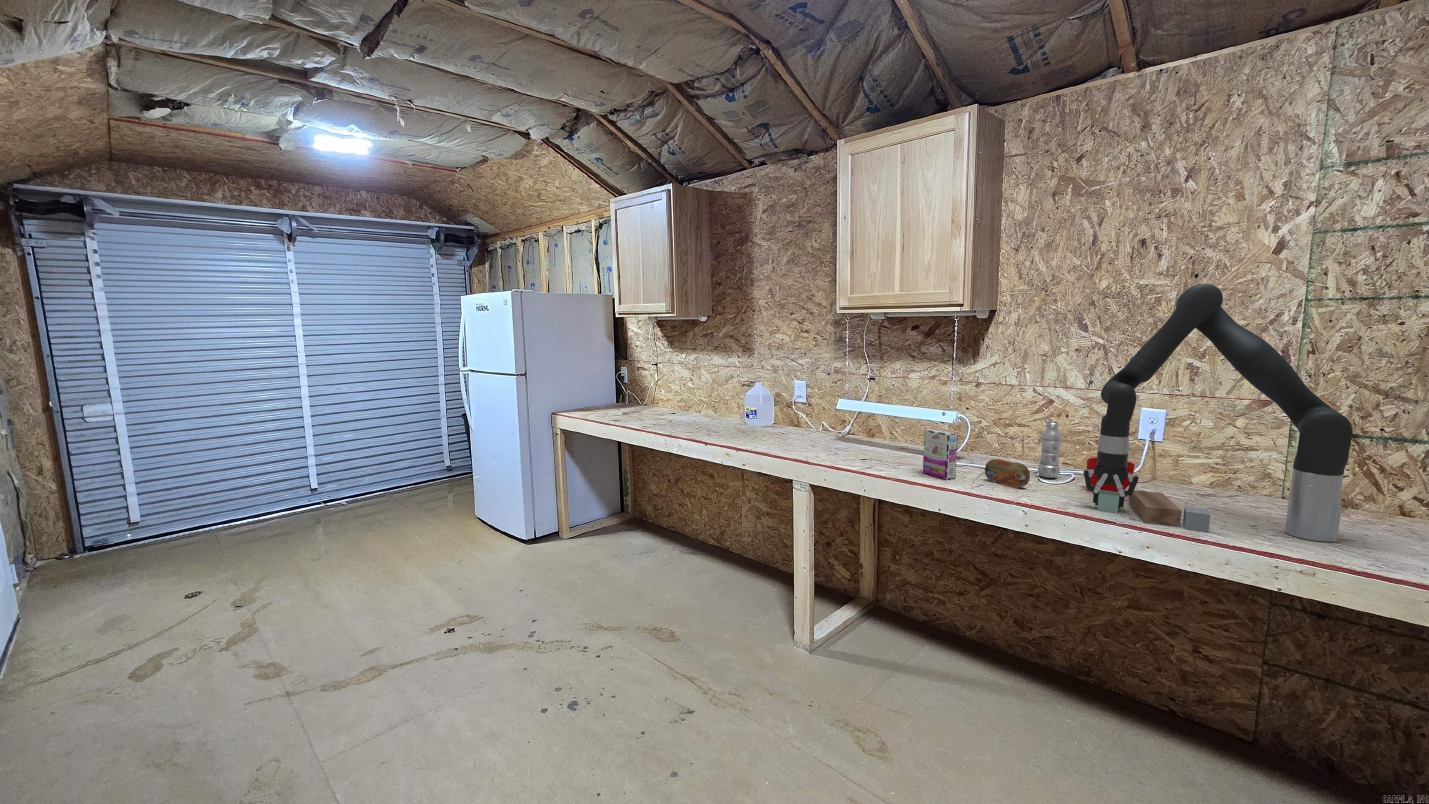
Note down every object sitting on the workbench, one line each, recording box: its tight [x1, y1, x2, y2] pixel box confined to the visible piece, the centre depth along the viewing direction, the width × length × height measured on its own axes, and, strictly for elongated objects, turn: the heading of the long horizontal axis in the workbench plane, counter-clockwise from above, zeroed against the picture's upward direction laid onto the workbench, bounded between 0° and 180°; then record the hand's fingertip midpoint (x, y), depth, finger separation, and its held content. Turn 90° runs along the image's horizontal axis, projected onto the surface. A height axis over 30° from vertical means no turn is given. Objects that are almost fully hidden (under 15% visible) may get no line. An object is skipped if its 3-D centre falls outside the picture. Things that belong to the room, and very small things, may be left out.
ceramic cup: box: [1086, 457, 1136, 492], centre depth 193 cm, size 13×17×10 cm
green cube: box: [1096, 490, 1120, 514], centre depth 177 cm, size 5×5×5 cm
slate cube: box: [1182, 506, 1211, 533], centre depth 162 cm, size 5×5×5 cm
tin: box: [984, 458, 1031, 489], centre depth 204 cm, size 15×3×8 cm, turn 33°
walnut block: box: [1128, 489, 1183, 528], centre depth 172 cm, size 8×18×5 cm, turn 157°
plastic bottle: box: [1037, 420, 1063, 479], centre depth 212 cm, size 6×7×20 cm
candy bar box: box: [922, 428, 959, 481], centre depth 215 cm, size 11×5×16 cm, turn 27°
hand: (1107, 506), depth 178 cm, fingers closed on green cube, 5 cm apart
